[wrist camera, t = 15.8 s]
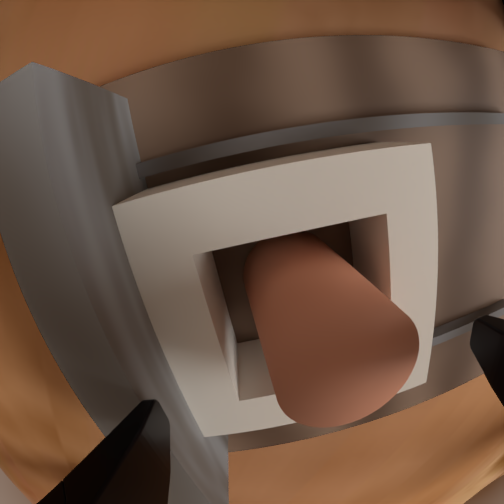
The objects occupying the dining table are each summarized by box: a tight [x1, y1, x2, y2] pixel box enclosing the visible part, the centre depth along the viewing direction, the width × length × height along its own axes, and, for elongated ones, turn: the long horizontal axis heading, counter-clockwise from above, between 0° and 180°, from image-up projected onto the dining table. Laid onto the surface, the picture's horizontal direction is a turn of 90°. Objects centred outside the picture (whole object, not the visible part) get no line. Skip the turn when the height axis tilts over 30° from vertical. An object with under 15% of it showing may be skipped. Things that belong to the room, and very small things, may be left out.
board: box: [0, 35, 504, 504], centre depth 11 cm, size 24×22×8 cm
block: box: [112, 142, 438, 437], centre depth 12 cm, size 10×10×4 cm
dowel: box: [243, 231, 419, 428], centre depth 11 cm, size 4×4×7 cm
